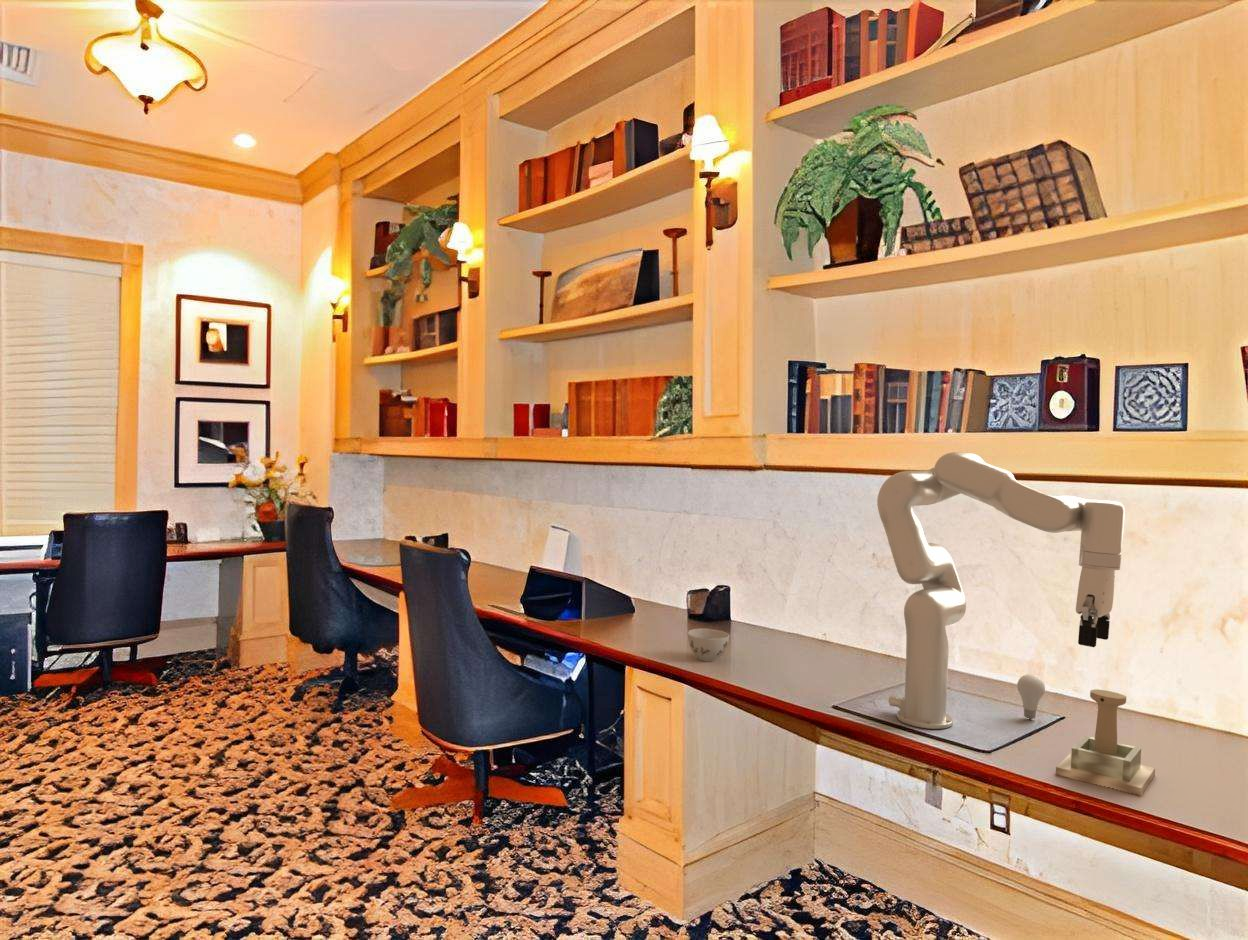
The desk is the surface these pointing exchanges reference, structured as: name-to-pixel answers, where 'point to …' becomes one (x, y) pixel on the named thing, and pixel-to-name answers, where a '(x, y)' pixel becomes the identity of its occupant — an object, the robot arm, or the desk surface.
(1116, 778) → the socket block
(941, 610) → the robot arm
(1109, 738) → the handle
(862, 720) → the desk surface
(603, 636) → the desk surface
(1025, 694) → the lightbulb
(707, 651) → the teacup
